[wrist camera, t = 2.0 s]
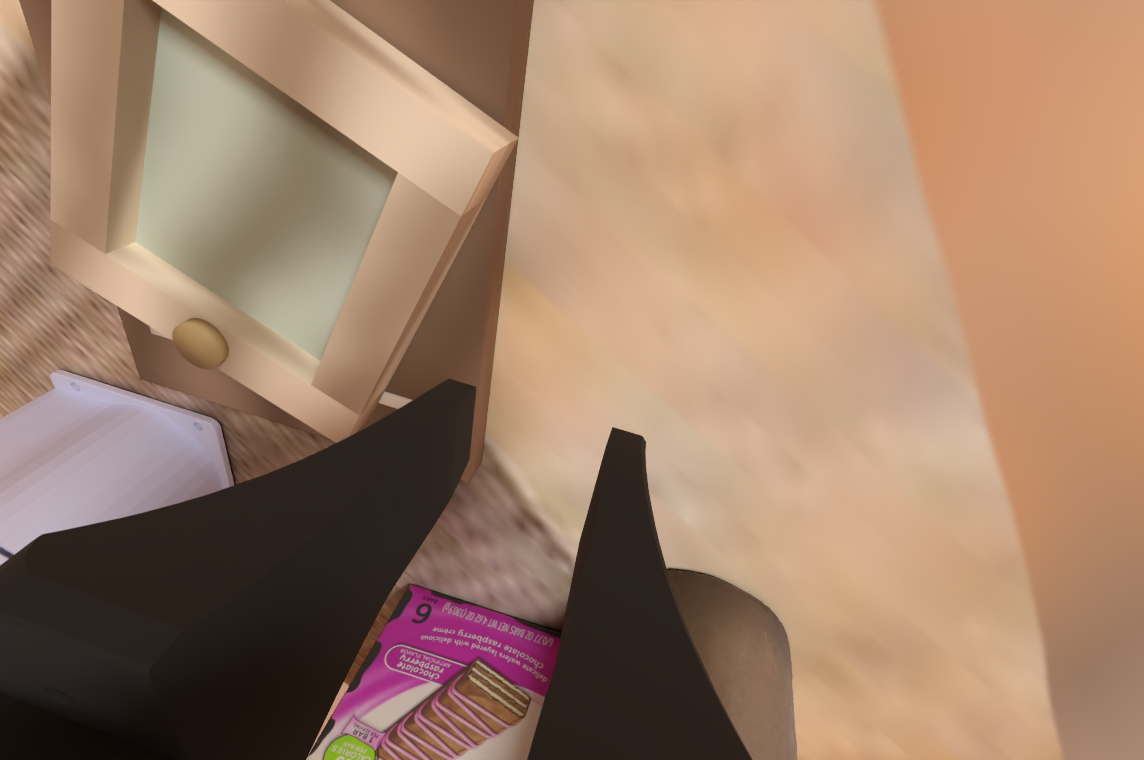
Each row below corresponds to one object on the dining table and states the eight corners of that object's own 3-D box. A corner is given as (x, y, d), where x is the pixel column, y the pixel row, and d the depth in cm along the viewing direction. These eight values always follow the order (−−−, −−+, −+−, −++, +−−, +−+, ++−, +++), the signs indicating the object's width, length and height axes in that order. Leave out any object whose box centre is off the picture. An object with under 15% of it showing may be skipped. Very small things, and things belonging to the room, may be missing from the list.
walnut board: (167, 362, 28) (138, 380, 26) (9, -199, 17) (-54, -215, 15) (482, 460, 26) (468, 484, 25) (543, -90, 15) (524, -98, 14)
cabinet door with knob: (101, 244, 22) (36, 269, 20) (128, -147, 15) (30, -170, 13) (370, 417, 24) (336, 455, 22) (518, 138, 16) (485, 157, 14)
